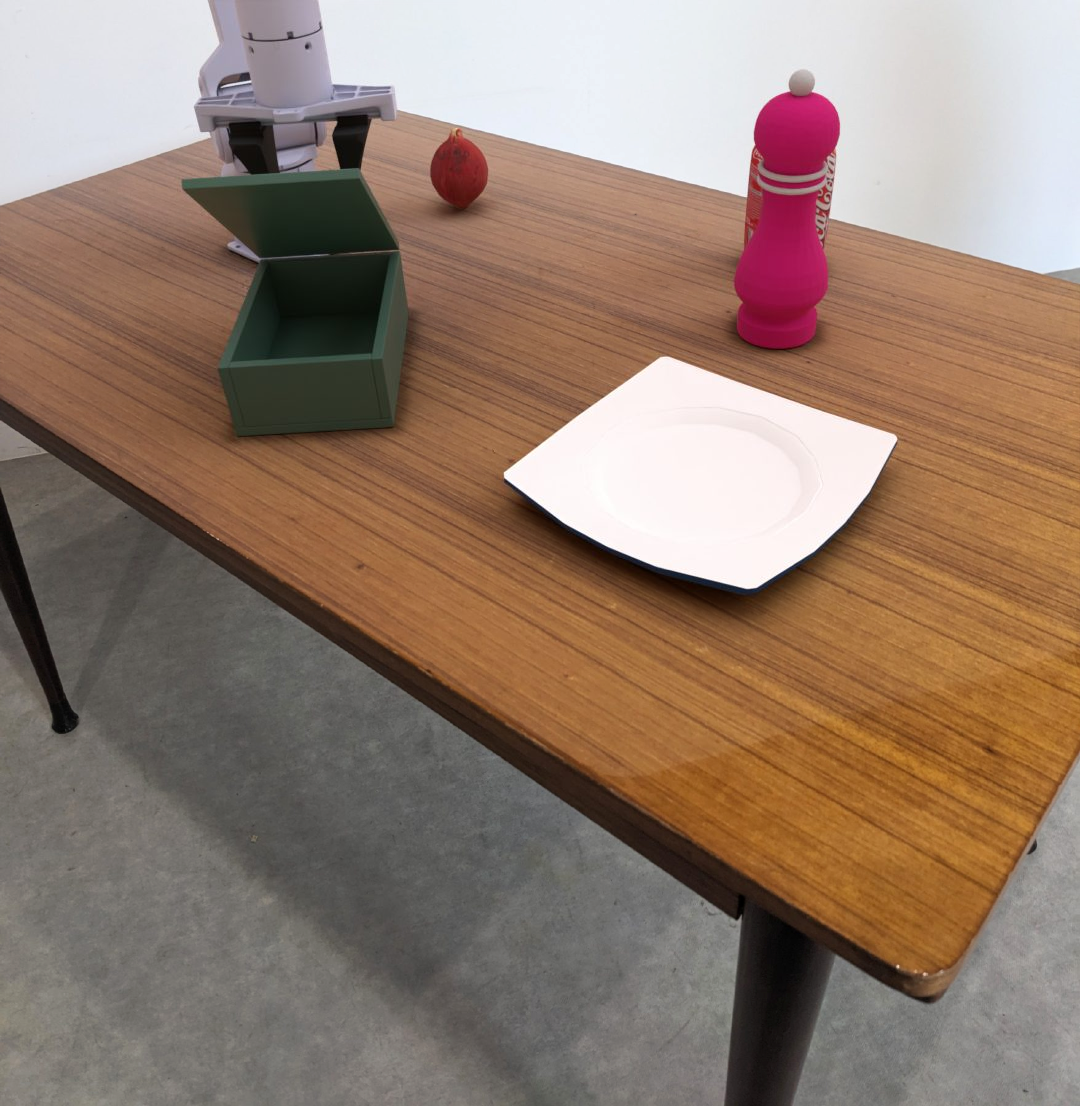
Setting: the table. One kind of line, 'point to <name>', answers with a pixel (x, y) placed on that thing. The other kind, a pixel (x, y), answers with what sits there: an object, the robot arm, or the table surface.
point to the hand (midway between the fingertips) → (318, 217)
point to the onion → (458, 170)
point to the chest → (317, 345)
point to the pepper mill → (787, 219)
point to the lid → (297, 212)
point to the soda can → (756, 199)
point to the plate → (704, 477)
